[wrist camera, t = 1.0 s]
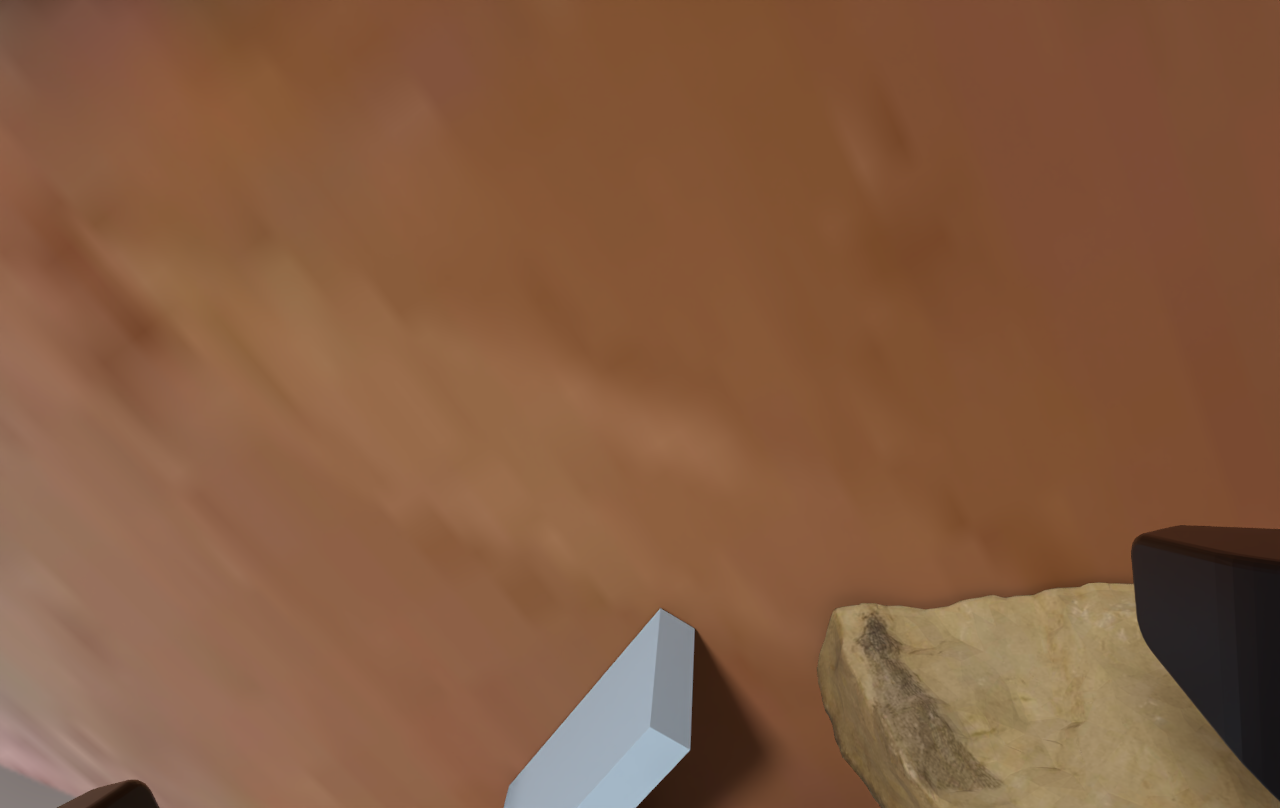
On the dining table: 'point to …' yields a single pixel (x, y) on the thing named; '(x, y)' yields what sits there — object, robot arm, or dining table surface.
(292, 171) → the dining table surface
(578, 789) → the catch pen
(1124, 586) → the rock
